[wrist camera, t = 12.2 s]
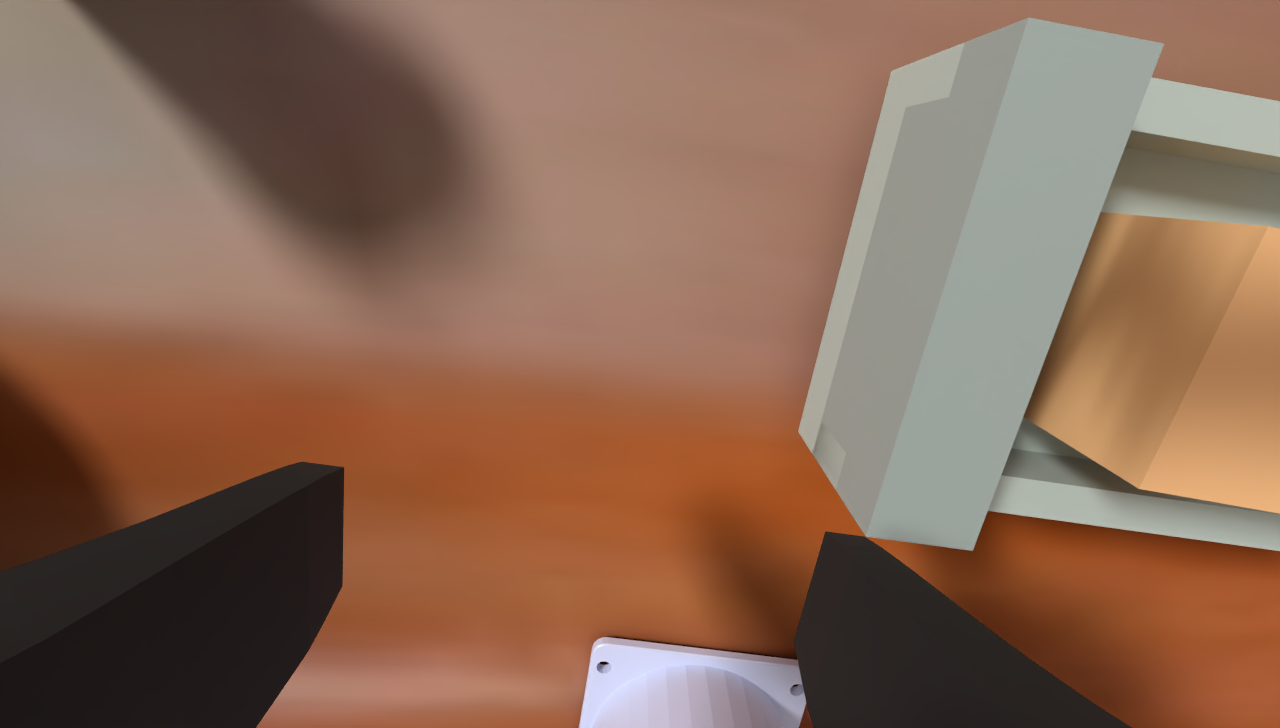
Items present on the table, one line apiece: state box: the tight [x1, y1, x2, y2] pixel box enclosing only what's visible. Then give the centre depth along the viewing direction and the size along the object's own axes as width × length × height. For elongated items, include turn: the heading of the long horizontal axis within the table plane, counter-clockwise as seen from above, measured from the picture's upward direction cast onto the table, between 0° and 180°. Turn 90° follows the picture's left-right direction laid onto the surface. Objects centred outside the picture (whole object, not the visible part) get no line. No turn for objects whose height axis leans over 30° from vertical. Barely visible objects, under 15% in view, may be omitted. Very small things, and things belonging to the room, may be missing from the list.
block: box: [1023, 212, 1280, 514], centre depth 13 cm, size 5×5×5 cm
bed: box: [798, 18, 1280, 551], centre depth 15 cm, size 10×14×6 cm
